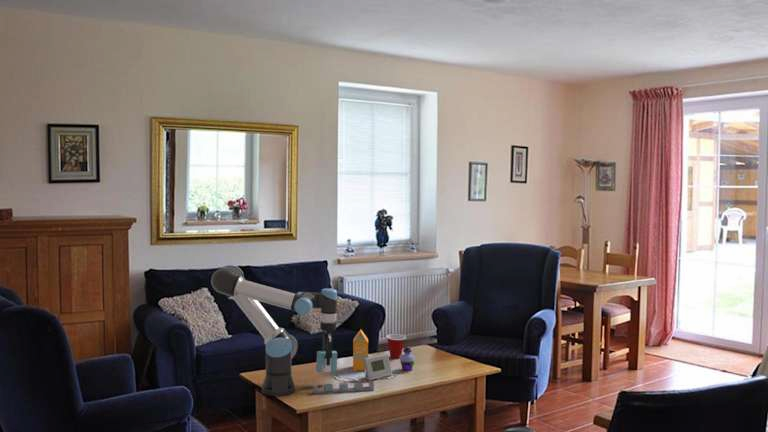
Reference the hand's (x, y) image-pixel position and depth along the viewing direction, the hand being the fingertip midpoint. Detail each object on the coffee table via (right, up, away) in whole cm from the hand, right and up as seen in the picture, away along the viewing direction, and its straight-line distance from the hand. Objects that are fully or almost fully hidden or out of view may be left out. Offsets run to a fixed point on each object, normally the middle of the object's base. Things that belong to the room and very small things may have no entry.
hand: (326, 369), depth 322 cm
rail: (+9, -7, -11) cm, 16 cm away
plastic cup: (+34, -5, +51) cm, 62 cm away
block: (0, 0, 0) cm, 0 cm away
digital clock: (+24, -7, +12) cm, 28 cm away
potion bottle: (+39, -6, +27) cm, 48 cm away
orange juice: (+15, -6, +28) cm, 32 cm away
